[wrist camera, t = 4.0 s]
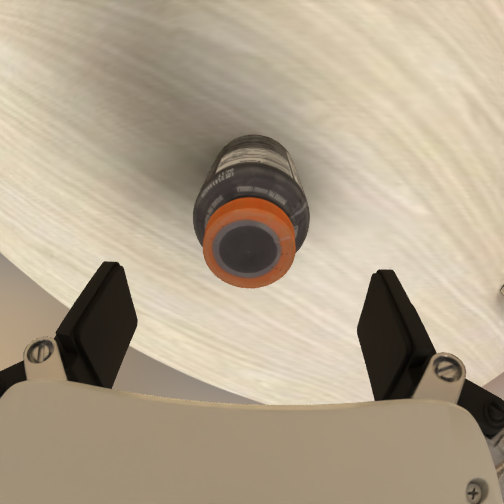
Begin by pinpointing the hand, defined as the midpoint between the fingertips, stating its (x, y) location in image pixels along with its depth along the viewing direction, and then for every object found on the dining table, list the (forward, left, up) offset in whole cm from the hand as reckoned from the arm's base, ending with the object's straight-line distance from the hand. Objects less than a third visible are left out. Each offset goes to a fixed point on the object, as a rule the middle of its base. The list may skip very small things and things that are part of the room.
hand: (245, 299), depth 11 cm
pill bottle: (0, 0, -14) cm, 14 cm away
